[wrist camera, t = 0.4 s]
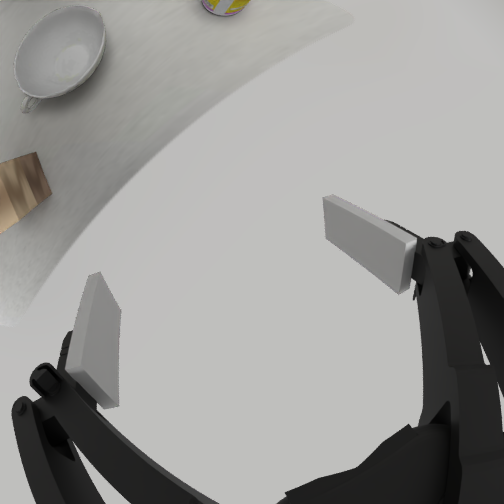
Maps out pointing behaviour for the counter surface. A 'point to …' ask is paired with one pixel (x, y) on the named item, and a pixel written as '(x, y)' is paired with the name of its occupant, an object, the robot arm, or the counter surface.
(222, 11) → the supplement bottle
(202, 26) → the counter surface
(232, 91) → the counter surface
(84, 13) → the teacup
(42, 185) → the tower base
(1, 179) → the tower mid
